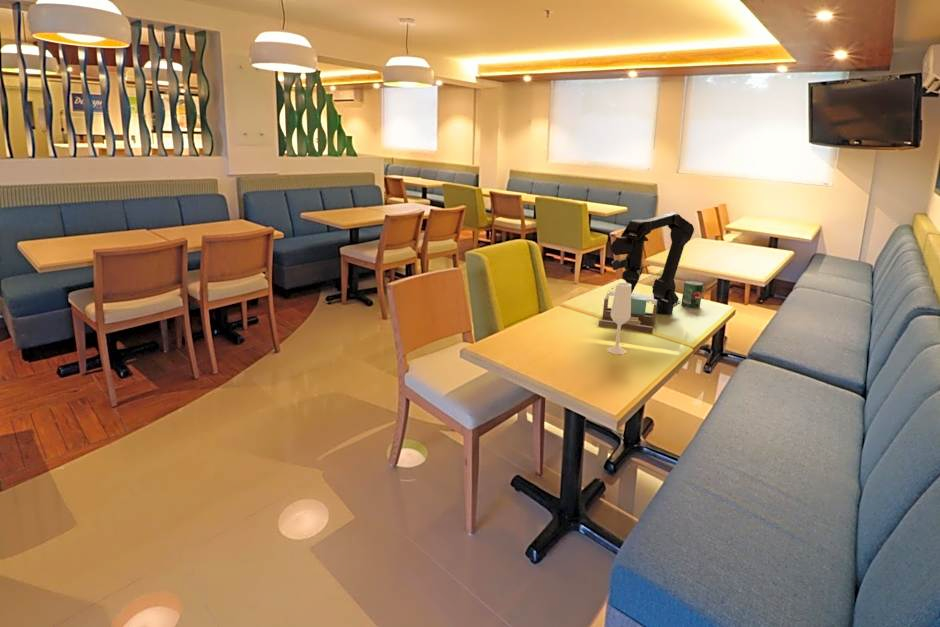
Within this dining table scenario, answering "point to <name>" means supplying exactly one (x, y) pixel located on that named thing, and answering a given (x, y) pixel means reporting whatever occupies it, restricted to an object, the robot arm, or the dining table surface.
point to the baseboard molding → (640, 296)
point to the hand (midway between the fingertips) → (630, 291)
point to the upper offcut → (633, 320)
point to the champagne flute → (620, 312)
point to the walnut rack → (646, 319)
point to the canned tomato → (692, 294)
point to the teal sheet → (638, 306)
